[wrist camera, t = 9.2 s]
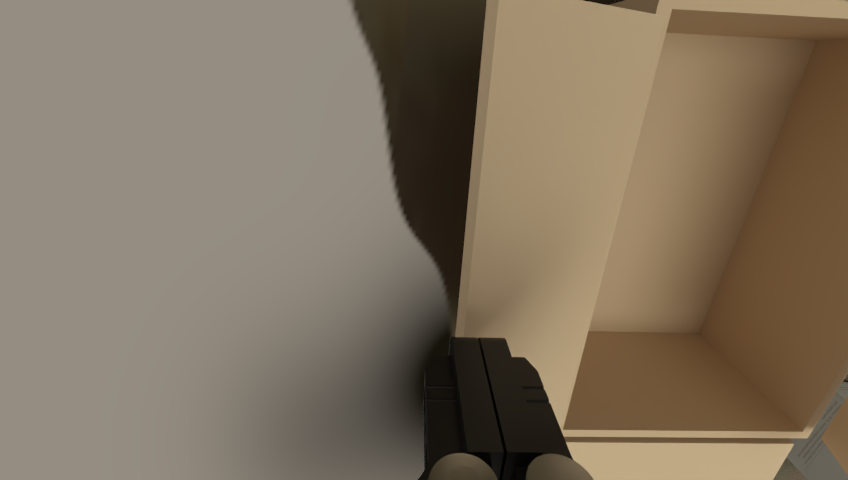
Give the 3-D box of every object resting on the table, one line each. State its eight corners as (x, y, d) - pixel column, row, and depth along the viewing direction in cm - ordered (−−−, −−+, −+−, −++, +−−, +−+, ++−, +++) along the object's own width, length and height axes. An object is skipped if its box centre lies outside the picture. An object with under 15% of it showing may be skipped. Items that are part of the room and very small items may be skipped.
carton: (879, -119, 19) (1243, -258, 11) (673, 397, 32) (763, 514, 24) (589, -139, 18) (735, -304, 10) (501, 395, 32) (533, 514, 23)
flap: (500, -16, 9) (487, -14, 9) (444, 516, 16) (439, 508, 16) (666, 16, 12) (653, 16, 13) (558, 438, 20) (551, 432, 20)
